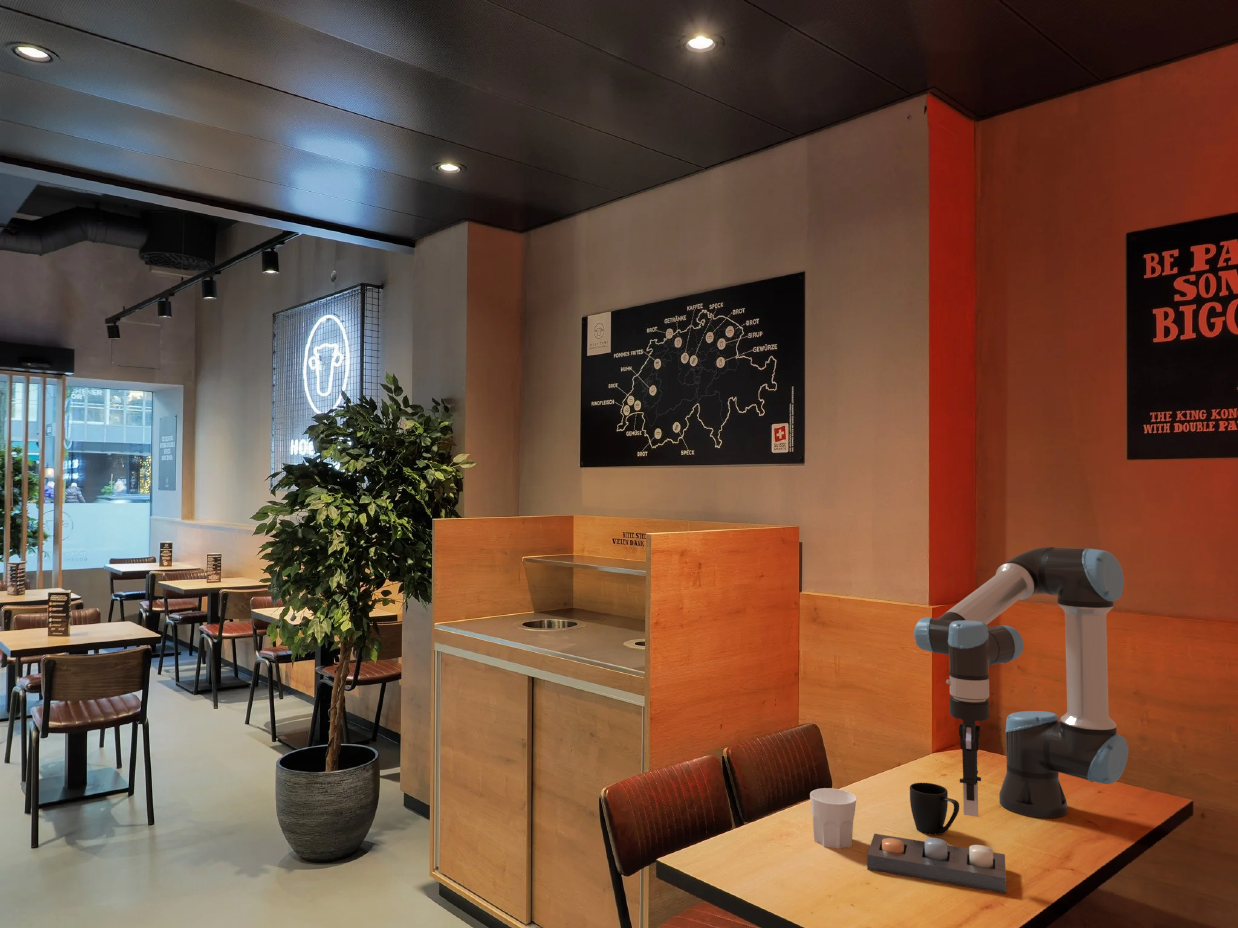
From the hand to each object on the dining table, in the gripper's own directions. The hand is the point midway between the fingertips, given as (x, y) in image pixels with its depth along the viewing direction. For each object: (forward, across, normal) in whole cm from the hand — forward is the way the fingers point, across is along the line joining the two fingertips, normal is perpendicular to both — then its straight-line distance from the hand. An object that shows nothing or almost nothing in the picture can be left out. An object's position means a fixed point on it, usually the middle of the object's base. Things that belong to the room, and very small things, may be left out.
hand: (970, 814), depth 171 cm
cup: (+12, -5, -29) cm, 32 cm away
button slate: (+10, 0, -7) cm, 12 cm away
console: (+12, 0, -7) cm, 14 cm away
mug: (+12, -20, -8) cm, 25 cm away
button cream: (+10, 0, +2) cm, 10 cm away
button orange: (+12, +1, -15) cm, 19 cm away
